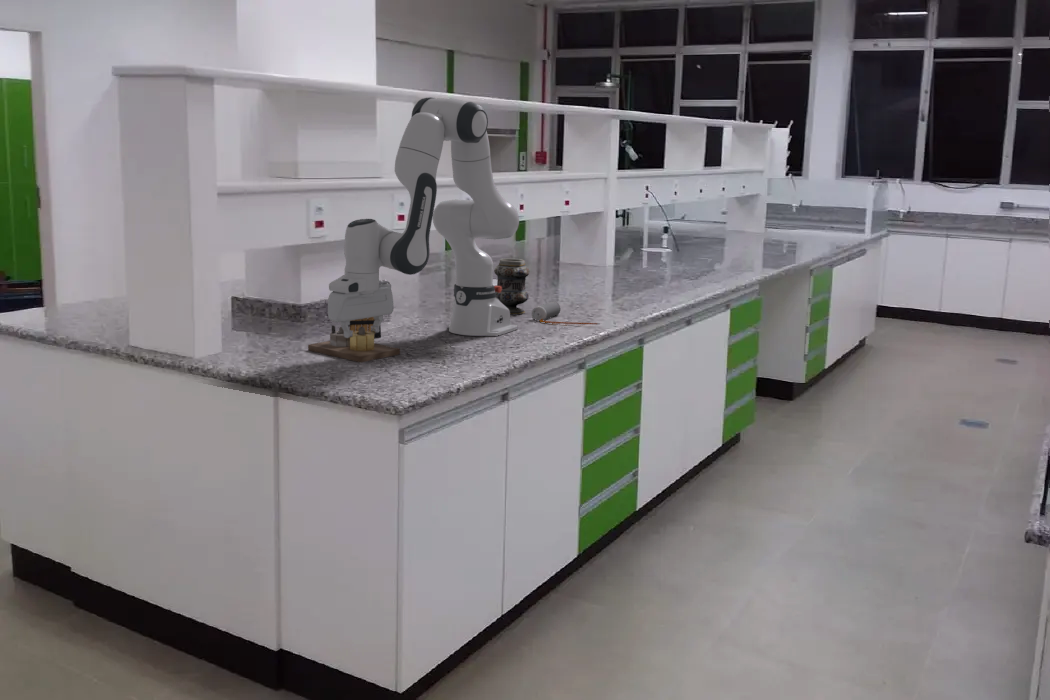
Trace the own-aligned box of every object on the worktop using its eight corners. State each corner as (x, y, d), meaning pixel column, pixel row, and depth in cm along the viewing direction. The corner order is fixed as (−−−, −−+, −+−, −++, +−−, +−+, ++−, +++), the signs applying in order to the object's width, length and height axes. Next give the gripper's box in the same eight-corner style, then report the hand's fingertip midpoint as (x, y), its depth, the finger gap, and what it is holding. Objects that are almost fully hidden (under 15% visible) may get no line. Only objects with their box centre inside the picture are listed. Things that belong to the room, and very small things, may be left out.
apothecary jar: (531, 310, 323) (533, 258, 319) (523, 316, 311) (525, 262, 307) (497, 308, 325) (499, 256, 321) (488, 313, 314) (489, 260, 310)
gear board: (347, 342, 260) (347, 316, 258) (399, 354, 248) (400, 327, 246) (308, 350, 249) (307, 323, 247) (360, 362, 237) (360, 334, 235)
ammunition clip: (343, 338, 265) (343, 296, 263) (342, 337, 267) (342, 295, 264) (381, 337, 269) (381, 296, 266) (379, 336, 270) (379, 295, 268)
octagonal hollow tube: (362, 344, 251) (362, 330, 250) (379, 348, 247) (379, 333, 246) (345, 348, 246) (345, 333, 245) (361, 351, 242) (361, 336, 241)
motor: (525, 321, 302) (528, 306, 301) (551, 311, 322) (553, 297, 321) (592, 340, 294) (595, 325, 293) (614, 329, 314) (617, 315, 313)
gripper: (382, 277, 253) (382, 328, 255) (323, 284, 237) (324, 338, 239) (399, 280, 249) (398, 331, 252) (340, 287, 233) (340, 342, 236)
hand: (361, 335), depth 246 cm, fingers open, 8 cm apart
